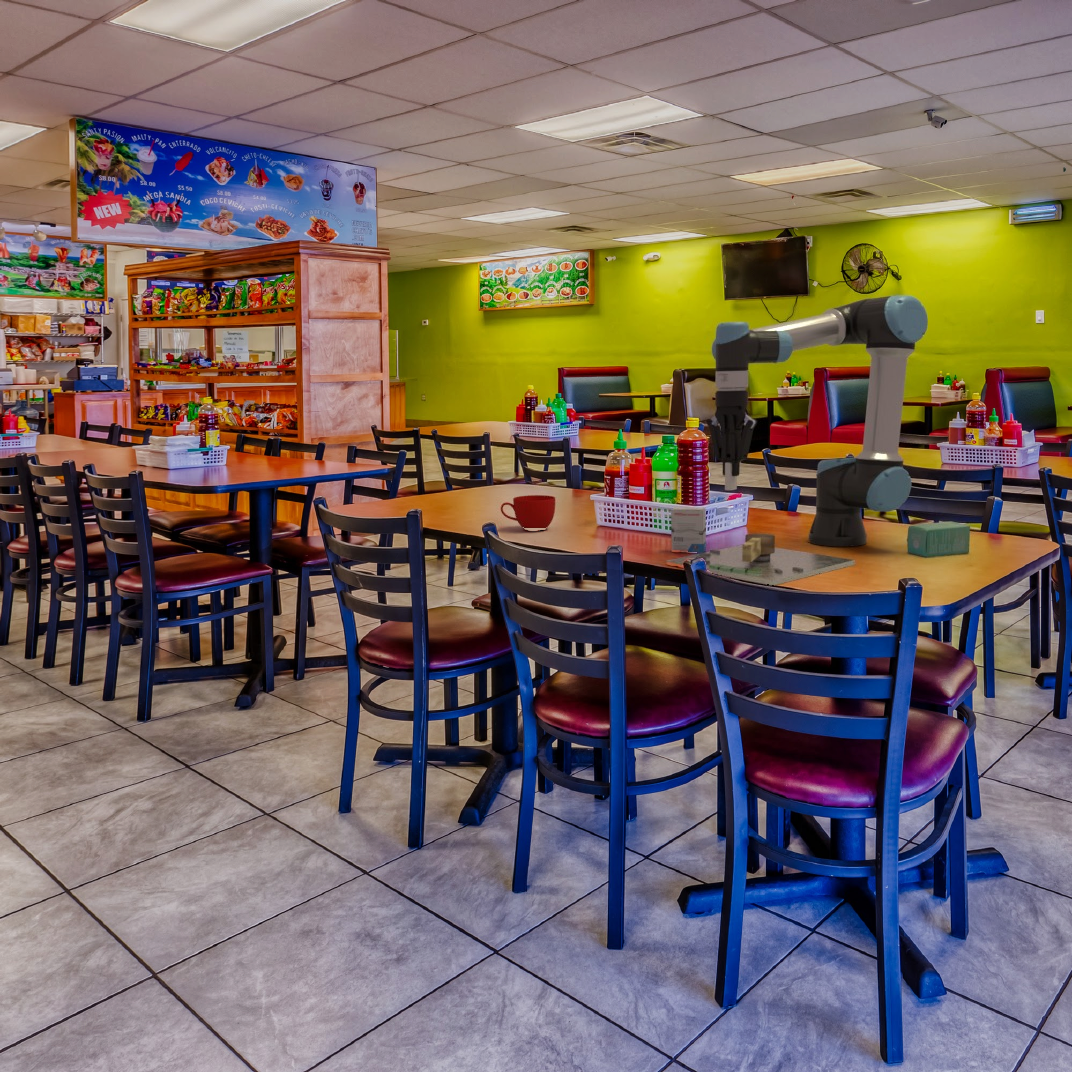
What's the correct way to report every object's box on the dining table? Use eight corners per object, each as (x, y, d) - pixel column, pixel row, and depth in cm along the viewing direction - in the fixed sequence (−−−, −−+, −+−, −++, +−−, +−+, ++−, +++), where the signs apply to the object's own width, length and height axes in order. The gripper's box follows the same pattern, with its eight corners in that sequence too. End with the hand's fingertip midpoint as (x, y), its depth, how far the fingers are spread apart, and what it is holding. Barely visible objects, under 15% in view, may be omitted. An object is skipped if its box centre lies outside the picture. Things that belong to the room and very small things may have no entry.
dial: (749, 548, 236) (749, 532, 235) (777, 550, 233) (777, 534, 232) (729, 562, 220) (729, 545, 219) (759, 564, 216) (759, 547, 216)
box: (905, 552, 243) (907, 524, 242) (948, 549, 247) (950, 520, 246) (925, 558, 236) (926, 528, 235) (969, 554, 240) (971, 525, 239)
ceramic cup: (499, 528, 296) (498, 496, 295) (553, 525, 298) (552, 494, 296) (502, 535, 284) (501, 502, 282) (558, 532, 286) (558, 499, 284)
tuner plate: (748, 547, 254) (748, 536, 254) (854, 564, 230) (855, 552, 229) (666, 565, 234) (666, 553, 234) (772, 585, 210) (773, 572, 209)
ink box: (706, 550, 252) (706, 507, 250) (703, 554, 247) (703, 509, 245) (674, 549, 255) (674, 506, 253) (670, 552, 250) (670, 509, 248)
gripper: (699, 390, 224) (699, 489, 228) (746, 390, 214) (745, 493, 218) (717, 389, 229) (717, 486, 233) (764, 388, 219) (763, 489, 223)
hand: (730, 489), depth 226 cm, fingers closed
